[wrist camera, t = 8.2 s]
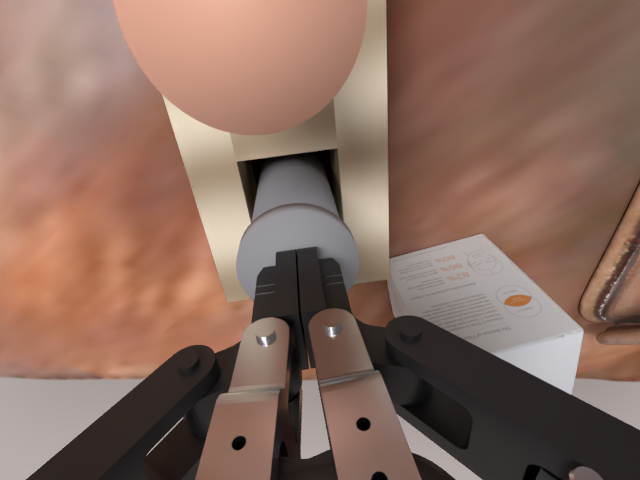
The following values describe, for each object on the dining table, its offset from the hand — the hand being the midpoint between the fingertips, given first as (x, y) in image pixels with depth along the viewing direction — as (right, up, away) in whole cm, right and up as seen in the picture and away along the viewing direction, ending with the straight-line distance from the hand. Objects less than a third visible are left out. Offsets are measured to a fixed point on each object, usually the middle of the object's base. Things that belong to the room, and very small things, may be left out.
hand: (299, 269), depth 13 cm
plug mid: (-1, +10, +2) cm, 11 cm away
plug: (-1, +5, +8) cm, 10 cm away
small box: (+10, -1, +15) cm, 18 cm away
